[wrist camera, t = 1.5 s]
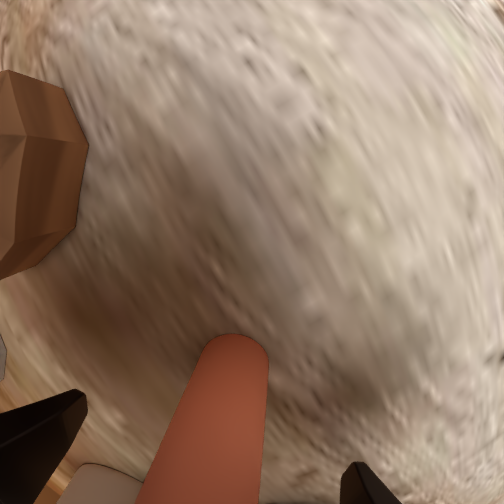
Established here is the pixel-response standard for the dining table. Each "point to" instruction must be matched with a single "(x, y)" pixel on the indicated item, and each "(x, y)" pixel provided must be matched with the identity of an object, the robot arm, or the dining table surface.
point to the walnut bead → (36, 170)
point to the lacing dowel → (215, 430)
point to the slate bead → (2, 358)
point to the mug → (100, 487)
